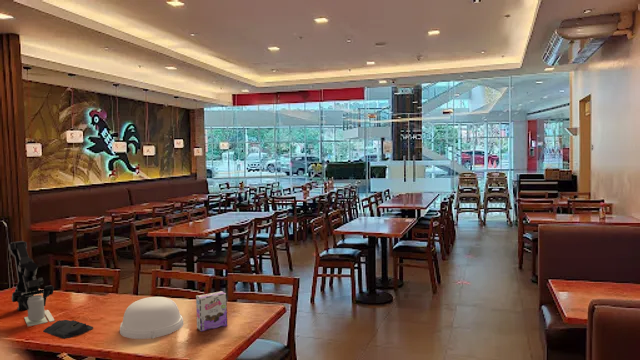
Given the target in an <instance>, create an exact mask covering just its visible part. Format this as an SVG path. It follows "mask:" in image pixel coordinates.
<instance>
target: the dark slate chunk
mask: <svg viewBox="0 0 640 360" xmlns="http://www.w3.org/2000/svg"><path fill="white" fill-rule="evenodd" d="M93 329H94V326H92V325H89V324H87V323H83V322H81V321H78V320H74V319H73V320H68V319H63V320H57V321H54V323H52V324H51V325H50V326H48V327H46V328H44V329H43V330H42V331H43V332H42V333H45V334H48V335H51V336H54V337H57V338H60V339H64V340H65V339H72V338H73V337H77V336H80V335H83V334H86V333H88V332H90V331H91V330H93Z"/></svg>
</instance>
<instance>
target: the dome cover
mask: <svg viewBox="0 0 640 360" xmlns="http://www.w3.org/2000/svg"><path fill="white" fill-rule="evenodd" d="M183 326H184V318H183V316H182V314H181V313H180V309H179V307H178V305H177V303H176V302H175V301H174V300H173V299H171V298H169V297H165V296H149V297H144V298H140V299H138V300H136V301H134V302H132V303H130V304H129V305H128V307H126V309H125V310H124V314H123V318H122V321H121V322H120V326H119V335H121V336H122V337H124V338H127V339H133V340H134V339H135V340H145V339H155V338H159V337H163V336H167V335H170V334H173V333H175V332H176V330H177V331H179V330H180V329H181V328H182V327H183ZM178 329H179V330H178ZM174 331H175V332H174ZM172 332H173V333H172Z"/></svg>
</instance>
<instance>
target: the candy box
mask: <svg viewBox="0 0 640 360" xmlns="http://www.w3.org/2000/svg"><path fill="white" fill-rule="evenodd" d="M195 304H196V305H195V306H196V307H195V308H196V328H197V330H198V331H200V332H204V331H209V330H213V329H219V328H222V327H227V326H228V310H227V309H228V308H227V307H228V306H227V293H226V292H224V291H222V290H220V291H216V292H210V293H206V294H205V293H203V294H200V295H198V294H197V295H195Z"/></svg>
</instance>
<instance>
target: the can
mask: <svg viewBox="0 0 640 360" xmlns="http://www.w3.org/2000/svg"><path fill="white" fill-rule="evenodd" d="M27 304H28V309H27V317H28V319H29V320H30V321H38V320H41V319H43V318H44V317H46V315H45V311H44V310H45V306H44V298H43V294H36V295H34V296H31V297H29V298H28V300H27Z"/></svg>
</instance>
